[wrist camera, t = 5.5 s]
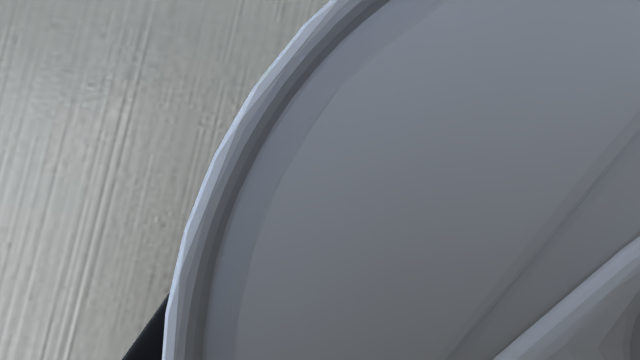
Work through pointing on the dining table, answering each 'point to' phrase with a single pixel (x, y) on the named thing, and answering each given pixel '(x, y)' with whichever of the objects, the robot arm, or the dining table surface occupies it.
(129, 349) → the robot arm
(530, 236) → the beverage can
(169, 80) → the dining table surface
